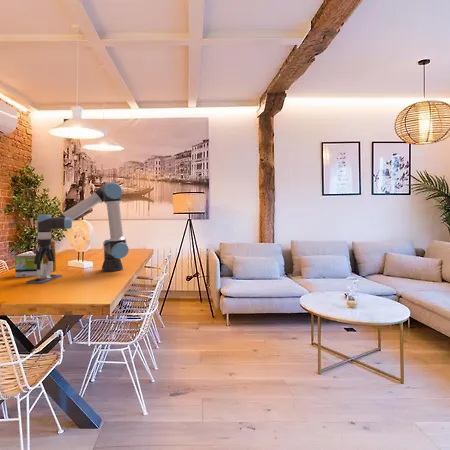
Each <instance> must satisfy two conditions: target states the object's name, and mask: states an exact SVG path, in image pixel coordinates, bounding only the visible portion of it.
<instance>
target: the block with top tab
mask: <svg viewBox="0 0 450 450" xmlns="http://www.w3.org/2000/svg"><path fill="white" fill-rule="evenodd" d="M51 275H52V273H51V271H50V264H42V275H40V276H37V278H40V279H48V278H52V277H51Z"/></svg>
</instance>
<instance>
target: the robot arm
mask: <svg viewBox="0 0 450 450" xmlns="http://www.w3.org/2000/svg"><path fill="white" fill-rule="evenodd" d="M122 195H123V188H122V186H121V185H120V184H119V183H117V182H113V181H112V182H106V183H104V184H103V185H101V186H100V187H99V188H97V189H96V190H94V191H93V192H92V194H91V195H89V196H87V197H86V198H84V199H83V200H81V201H80V202H78V203H77V204H75V205H73V206H72V207H71V208H68V209H67V210H66V211H64V212H62V213H61V214H60V215H58V216H56V217H52V215H51V214H38V215H37V222H36V223H37V225H36V227H37V245H38V246H39V245H40V248H38V247H36V248H35V249H36V252H35V254H36V256H35V261H34V264H37V275H42V264H41V262H42V259H43V256H44V255H45V254H46V256H47V258H48V260H49V261H48V264H50V272H54V271H53V261H54V259H55V260H56V256H55V257H54V253H53V247H52V246H49V245H51V241H52V239H51V238H52V230H67V229H68V230H69V229H72V228H73V221H74V220H75V219H77V218H78V217H80V216H81V215H83V214H85V213H86V212H88V211H89V210H90V209H92V208H93V207H95V206H97V205H99V204H102V203H104V204H105V205H106V209H107V210H106V211H107V218H108V227H109V228H108V229H109V235H110V238H109V239H105V240H104V241H103V257H104V258H103V263H102V265H101V271H103V272H118V271H122V270H124V265H123V262H122V259H123V258H125V257H126V256H127V255H128V253H129V249H130V248H129V246H128V244H127V240H126V238H125V237H124V233H123V224H122V213H121V205H120V203H122ZM52 257H53V258H52Z"/></svg>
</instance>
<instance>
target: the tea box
mask: <svg viewBox="0 0 450 450" xmlns="http://www.w3.org/2000/svg"><path fill="white" fill-rule="evenodd" d="M35 256H36V253H19V254H17V255H15V256H14V257H15V265H14V266H15V269H14V270H15V271H14V273H15V278H24V277H25V278H26V277H29V278H30V277H40V275H37V264H34V261H35ZM41 264H43V259H42V262H41Z"/></svg>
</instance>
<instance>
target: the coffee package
mask: <svg viewBox="0 0 450 450" xmlns="http://www.w3.org/2000/svg"><path fill="white" fill-rule="evenodd" d="M55 245H56V243H55V241H54V240H51V245H49V246H52V247H53V253H54V257H55V259H54V261H53V271H52V272H55V271H56V270H57V262H56V246H55ZM37 248H40V245H38V246H37ZM52 258H53V257H52ZM48 261H49V260H48V258H47V256H46V254H45V255H44V256H43V264H48Z"/></svg>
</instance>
